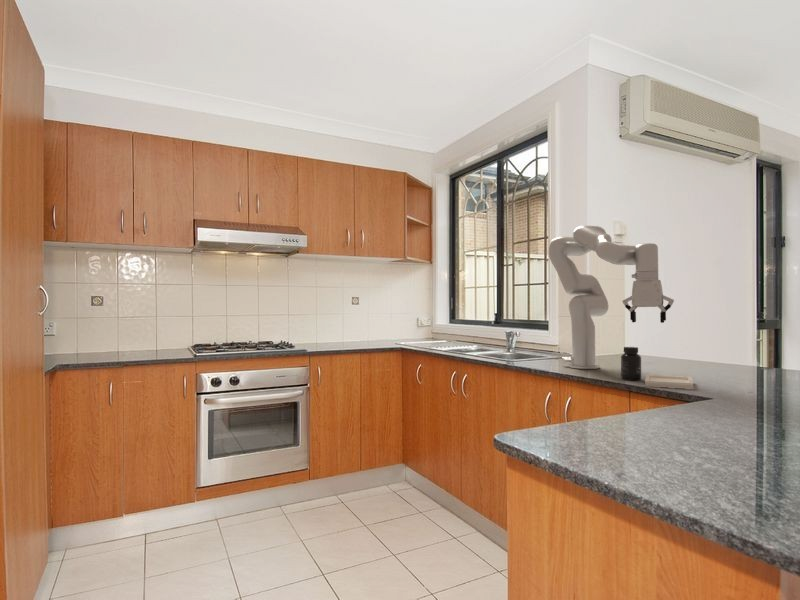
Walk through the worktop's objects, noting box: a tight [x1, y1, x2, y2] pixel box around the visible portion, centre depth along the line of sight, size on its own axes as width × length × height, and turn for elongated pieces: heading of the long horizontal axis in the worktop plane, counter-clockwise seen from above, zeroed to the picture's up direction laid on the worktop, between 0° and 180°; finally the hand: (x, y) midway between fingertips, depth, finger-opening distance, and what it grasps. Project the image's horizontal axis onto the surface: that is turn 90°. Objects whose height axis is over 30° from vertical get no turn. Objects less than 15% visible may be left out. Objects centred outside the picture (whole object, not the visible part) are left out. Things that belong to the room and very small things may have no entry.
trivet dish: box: [644, 374, 694, 390], centre depth 164 cm, size 14×14×2 cm
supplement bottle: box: [620, 346, 642, 382], centre depth 175 cm, size 7×7×12 cm
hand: (648, 322), depth 177 cm, fingers open, 9 cm apart
